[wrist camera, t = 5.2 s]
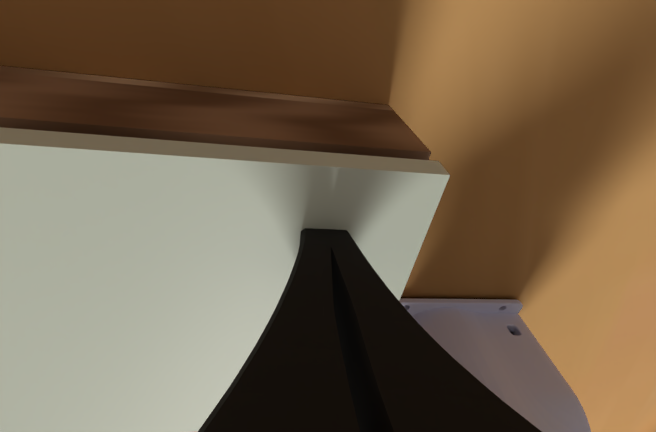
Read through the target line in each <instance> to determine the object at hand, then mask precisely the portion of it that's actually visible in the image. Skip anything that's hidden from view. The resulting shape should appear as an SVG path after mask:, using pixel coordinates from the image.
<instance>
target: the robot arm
mask: <svg viewBox="0 0 656 432" xmlns="http://www.w3.org/2000/svg"><path fill="white" fill-rule="evenodd" d="M522 307H523V305H522V303H521V302H520V301H519V300H513V299H414V298H400V300H398V299H397V298H396V297H395V296H394V294H393V293H392V292H391V291H390V290H389V288H388V287H387V286H386V284H385V283H384V282H383V281H382V279H381V278H380V277H379V275H378V274H377V273H376V271H375V270H374V269H373V267H372V266H371V265H370V263H369V262H368V260H367V259H366V257H365V256H364V255H363V253H362V252H361V250H360V249H359V247H358V246H357V244H356V243H355V241H354V240H353V238H352V236H351V235H350V233H349V232H348V231H347V230H336V229H312V228H305V229H303V230H302V231H301V235H300V246H299V250H298V253H297V257H296V260H295V263H294V266H293V269H292V271H291V274H290V277H289V279H288V282H287V284H286V286H285V289H284V291H283V293H282V295H281V297H280V300H279V302H278V304H277V306H276V308H275V310H274V312H273V314H272V316H271V318H270V320H269V322H268V324H267V325H266V327H265V329H264V331H263V333H262V334H261V336H260V338H259V340H258V342H257V343H256V345H255V347H254V348H253V350H252V352H251V353H250V355H249V356H248V358H247V360H246V361H245V363H244V365H243V366H242V368H241V369H240V371H239V373H238V374H237V376H236V377H235V379H234V380H233V382H232V383H231V385H230V386H229V388H228V389H227V391H226V392H225V394H224V395H223V397H222V398H221V399H220V401H219V402H218V404H217V405H216V406H215V408H214V409H213V411H212V412H211V414H210V415H209V416H208V418H207V419H206V421H205V422H204V424H203V425H202V426H201V428H200V429H199V431H198V432H591V430H590V426H589V423H588V420H587V417H586V415H585V412H584V410H583V407H582V406H581V404H580V402H579V400H578V398H577V396H576V395H575V393H574V392H573V390H572V389H571V387H570V386H569V385H568V383H567V382H566V380H565V379H564V378H563V376H562V375H561V373H560V372H559V371H558V369H557V368H556V366H555V365H554V364H553V362H552V361H551V359H550V358H549V357H548V355H547V354H546V352H545V351H544V350H543V348H542V347H541V345H540V344H539V343H538V341H537V340H536V338H535V337H534V336H533V334H532V333H531V331H530V330H529V329H528V327H527V326H526V324H525V323H524V322H523V320H522V319H521V317H520V316H519V315H518V313H519V311H520V310H521V309H522Z"/></svg>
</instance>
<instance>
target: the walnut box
mask: <svg viewBox="0 0 656 432" xmlns="http://www.w3.org/2000/svg"><path fill="white" fill-rule="evenodd" d="M0 127H3V128H16V129H29V130H42V131H55V132H68V133H81V134H94V135H107V136H120V137H133V138H146V139H159V140H172V141H185V142H198V143H211V144H224V145H237V146H250V147H263V148H276V149H289V150H302V151H315V152H328V153H341V154H354V155H367V156H380V157H393V158H406V159H419V160H429V157H430V154H431V151H430V150H429V149H428V148H427V147H426V146H425V145H424V144H423V143H422V141H421V140H420V139H419V138H418V137H417V136H416V135H415V134H414V133H413V132H412V130H411V129H410V128H409V127H408V126H407V125H406V124H405V123H404V122H403V120H402V119H401V118H400V117H399V116H398V115H397V114H396V113H395V112H394V110H393V109H392V108H391V107H390V106H389V105H382V104H372V103H363V102H353V101H343V100H333V99H323V98H313V97H304V96H294V95H284V94H274V93H264V92H254V91H244V90H235V89H225V88H215V87H205V86H195V85H185V84H176V83H166V82H156V81H146V80H136V79H126V78H117V77H107V76H97V75H87V74H77V73H67V72H58V71H48V70H38V69H28V68H18V67H8V66H0Z"/></svg>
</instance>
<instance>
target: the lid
mask: <svg viewBox="0 0 656 432" xmlns="http://www.w3.org/2000/svg"><path fill="white" fill-rule="evenodd" d="M449 177H450V174H449V173H448V172H447V171H446V169H445V168H444V167H443V166H442V165H441V163H440V162H439V161H432V160H419V159H406V158H393V157H380V156H367V155H354V154H341V153H328V152H315V151H302V150H289V149H276V148H263V147H250V146H237V145H224V144H211V143H198V142H185V141H172V140H159V139H146V138H133V137H120V136H107V135H94V134H81V133H68V132H55V131H42V130H29V129H16V128H3V127H0V432H194V431H199V429H200V428H201V426H202V425H203V424H204V422H205V421H206V419H207V418H208V416H209V415H210V414H211V412H212V411H213V409H214V408H215V406H216V405H217V404H218V402H219V401H220V399H221V398H222V397H223V395H224V394H225V392H226V391H227V389H228V388H229V386H230V385H231V383H232V382H233V380H234V379H235V377H236V376H237V374H238V373H239V371H240V369H241V368H242V366H243V365H244V363H245V361H246V360H247V358H248V356H249V355H250V353H251V352H252V350H253V348H254V347H255V345H256V343H257V342H258V340H259V338H260V336H261V334H262V333H263V331H264V329H265V327H266V325H267V324H268V322H269V320H270V318H271V316H272V314H273V312H274V310H275V308H276V306H277V304H278V302H279V300H280V297H281V295H282V293H283V291H284V289H285V286H286V284H287V282H288V279H289V277H290V274H291V271H292V269H293V266H294V263H295V260H296V257H297V253H298V250H299V246H300V235H301V231H302V230H303V229H305V228H312V229H336V230H347V231H348V232H349V233H350V235H351V236H352V238H353V240H354V241H355V243H356V244H357V246H358V247H359V249H360V250H361V252H362V253H363V255H364V256H365V257H366V259H367V260H368V262H369V263H370V265H371V266H372V267H373V269H374V270H375V271H376V273H377V274H378V275H379V277H380V278H381V279H382V281H383V282H384V283H385V284H386V286H387V287H388V288H389V290H390V291H391V292H392V293H393V294H394V296H395V297H396V298H397V299H398V300H400V298H401V295H402V293H403V290H404V288H405V285H406V283H407V281H408V278H409V276H410V273H411V271H412V268H413V266H414V263H415V261H416V258H417V256H418V253H419V251H420V248H421V246H422V243H423V241H424V238H425V236H426V233H427V231H428V229H429V226H430V224H431V221H432V219H433V216H434V214H435V211H436V209H437V206H438V204H439V201H440V199H441V196H442V194H443V191H444V189H445V186H446V184H447V182H448V179H449Z"/></svg>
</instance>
